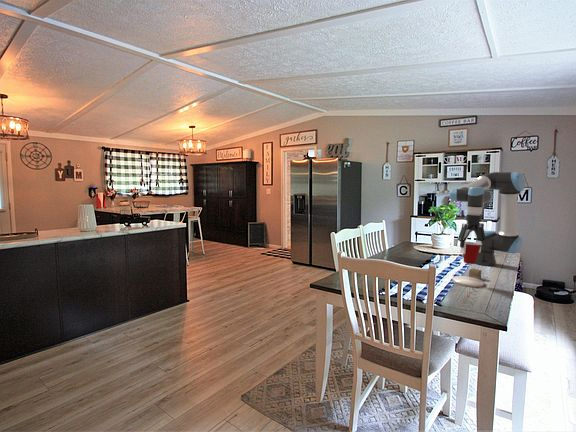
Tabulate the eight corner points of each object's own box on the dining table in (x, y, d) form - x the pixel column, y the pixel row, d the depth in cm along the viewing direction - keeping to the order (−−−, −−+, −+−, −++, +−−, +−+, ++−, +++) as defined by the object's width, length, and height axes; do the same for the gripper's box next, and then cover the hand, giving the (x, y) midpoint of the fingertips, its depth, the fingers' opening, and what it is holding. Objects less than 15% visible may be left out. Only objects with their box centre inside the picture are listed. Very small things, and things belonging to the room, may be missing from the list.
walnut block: (472, 276, 210) (472, 268, 210) (480, 278, 206) (481, 270, 206) (468, 277, 207) (469, 269, 206) (477, 279, 203) (478, 271, 203)
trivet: (466, 277, 207) (467, 275, 207) (490, 285, 192) (490, 283, 192) (446, 279, 202) (446, 277, 202) (468, 288, 187) (468, 285, 187)
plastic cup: (478, 261, 199) (480, 241, 197) (482, 266, 189) (484, 244, 187) (457, 259, 202) (459, 239, 201) (460, 264, 192) (462, 243, 191)
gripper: (483, 213, 199) (480, 250, 202) (452, 213, 192) (449, 252, 194) (495, 214, 192) (491, 252, 195) (463, 215, 185) (459, 255, 187)
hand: (470, 252), depth 195 cm, fingers closed on plastic cup, 11 cm apart
